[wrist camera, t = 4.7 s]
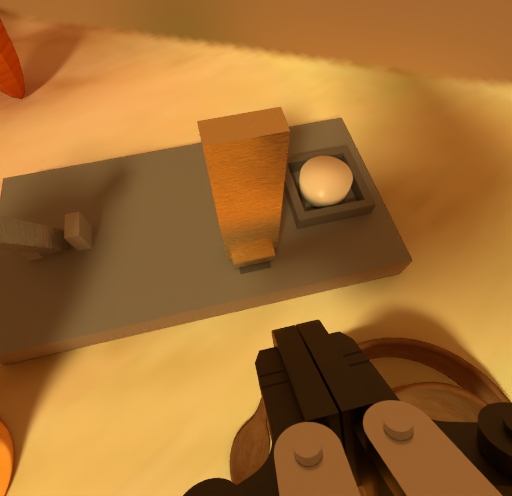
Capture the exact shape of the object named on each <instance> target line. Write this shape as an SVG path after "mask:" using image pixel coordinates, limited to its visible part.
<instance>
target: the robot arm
mask: <svg viewBox="0 0 512 496" xmlns="http://www.w3.org/2000/svg"><path fill="white" fill-rule="evenodd" d="M272 338H273V343H274V347H273V348H269V349H265V350H260V351H259V353H258V356H257V359H256V362H255V366H256V370H257V375H258V380H259V385H260V390H261V395H262V400H263V404H264V409H265V413H266V418H267V422H268V426H269V430H270V435H271V439H272V447H271V451H270V454H269V456H268V458H267V460H266V461H265V463H264V464H263V465H262V467H261V468H260V469H259V470H258V471H256V472H255V473H254V474H253V475H251V476H250V477H248V478H247V479H245V480H244V481H242V482H241V483H239V484H238V485H236V484H235V483H233V482H231V481H229V480H227V479H223V478H212V479H207V480H204V481H202V482H200V483H198V484H196V485H194V486H193V487H192V488H191V489H189V490H188V491H187V492H186V493H185V494H184V495H183V496H361V495H360V493H359V490H358V487H360V486H363V488H364V491H365V493H366V495H367V496H512V403H508V402H497V403H492V404H489V405H486V406H485V407H483V408H482V409H481V410H480V412H479V414H478V422H448V421H438V420H433V419H430V418H429V417H428V416H427V415H426V414H425V413H424V412H423V411H421V410H420V409H419V408H417V407H415V406H413V405H411V404H408V403H405V402H402V401H400V400H399V398H398V397H397V396H396V394H395V393H394V392H393V391H392V389H391V388H390V387H389V385H388V384H387V383H386V381H385V380H384V379H383V378H382V376H381V375H380V374H379V372H378V371H377V370H376V368H375V367H374V366H373V365H372V363H370V362H369V359H368V358H367V357H366V355H365V354H364V353H362V350H361V349H360V348H359V346H358V345H357V344H356V342H355V341H354V340H353V339H352V338H350V337H348V336H347V335H345V334H343V333H341V332H340V331H339V332H335V333H331V334H328V332H327V331H326V329H325V328H324V326H323V325H322V323H321V322H320V320H314V321H310V322H305V323H301V324H297V325H296V326H295V325H293V326H289V327H285V328H280V329H276V330H272Z"/></svg>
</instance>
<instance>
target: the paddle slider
mask: <svg viewBox="0 0 512 496" xmlns="http://www.w3.org/2000/svg"><path fill="white" fill-rule="evenodd" d="M197 123H198V127H199V132H200V137H201V141H202V146H203V151H204V156H205V160H206V165H207V170H208V174H209V179H210V184H211V188H212V193H213V198H214V203H215V207H216V212H217V217H218V221H219V226H220V231H221V236H222V240H223V245H224V250H225V254H226V259H227V260H230V259H232V262H233V266H234V268H239V267H243V266H248V265H252V264H257V263H261V262H266V261H271V260H275V252H274V250H277V247H278V238H279V228H280V219H281V210H282V201H283V191H284V182H285V173H286V163H287V154H288V145H289V136H290V130H289V127H288V124H287V122H286V119H285V117H284V114H283V111H282V109H281V107H277V108H271V109H266V110H260V111H254V112H248V113H242V114H237V115H231V116H225V117H219V118H214V119H208V120H202V121H197Z"/></svg>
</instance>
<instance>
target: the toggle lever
mask: <svg viewBox="0 0 512 496" xmlns="http://www.w3.org/2000/svg"><path fill="white" fill-rule="evenodd" d="M69 250H70V245H69V242H68V241H67V240H66V239H64V230H62V229H58V228H54V227H49V226H45V225H40V224H36V223H32V222H27V221H23V220H19V219H14V218H10V217H6V216H1V215H0V251H9V252H23V253H36V254H54V253H59V252H64V251H69Z"/></svg>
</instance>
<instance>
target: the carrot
mask: <svg viewBox="0 0 512 496" xmlns="http://www.w3.org/2000/svg"><path fill="white" fill-rule="evenodd" d="M0 91H1V92H3V93H5V94H7V95H9V96H11V97H14V98H19V99H22V98H23V96H24V93H25V87H24V79H23V73H22V70H21V66H20V62H19V59H18V56H17V54H16V52H15V49H14V47H13V45H12V43H11V40H10V38H9V36H8V34H7V32H6V30H5V28H4V26H3V24H2V21H1V19H0Z"/></svg>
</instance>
